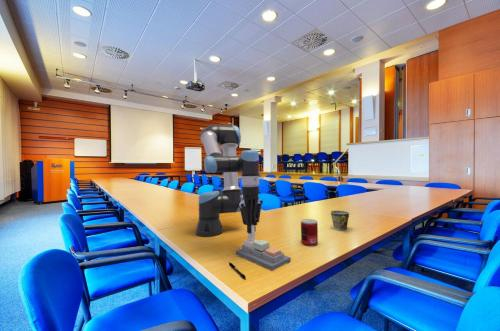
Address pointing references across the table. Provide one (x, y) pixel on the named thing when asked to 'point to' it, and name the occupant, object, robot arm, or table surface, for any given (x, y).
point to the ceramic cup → (340, 220)
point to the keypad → (263, 257)
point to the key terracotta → (273, 252)
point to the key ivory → (249, 243)
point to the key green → (261, 245)
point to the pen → (237, 271)
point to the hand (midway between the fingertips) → (251, 240)
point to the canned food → (309, 232)
